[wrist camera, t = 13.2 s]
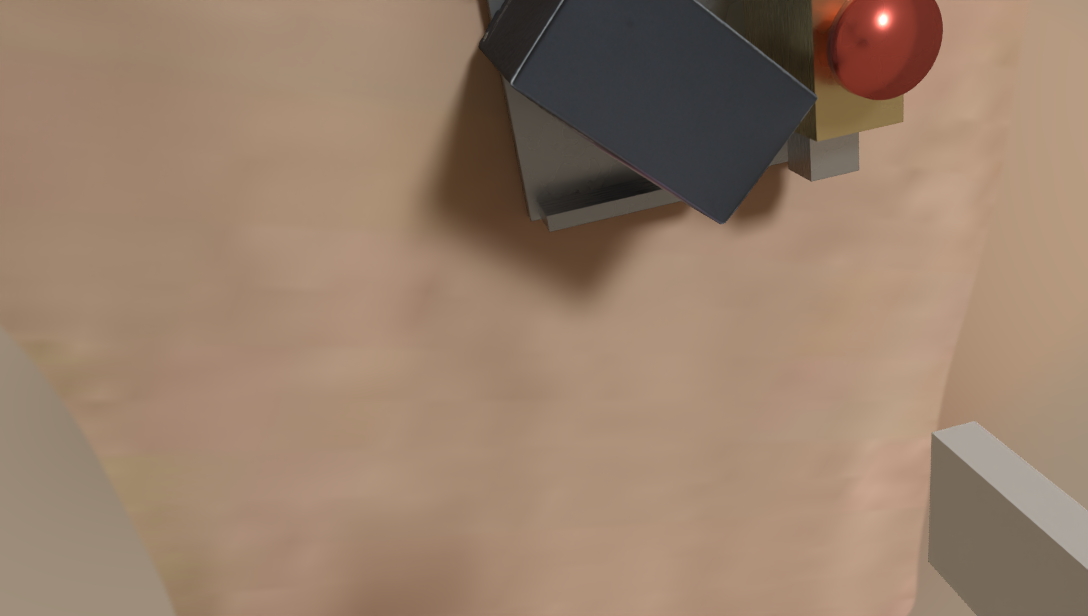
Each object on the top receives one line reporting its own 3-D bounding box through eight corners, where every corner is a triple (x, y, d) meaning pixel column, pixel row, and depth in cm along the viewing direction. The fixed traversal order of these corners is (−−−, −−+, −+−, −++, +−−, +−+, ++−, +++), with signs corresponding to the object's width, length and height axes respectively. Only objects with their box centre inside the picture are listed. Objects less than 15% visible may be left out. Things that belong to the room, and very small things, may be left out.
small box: (469, 53, 38) (499, 88, 29) (546, -76, 37) (605, -83, 27) (646, 170, 42) (723, 235, 33) (722, 58, 41) (827, 92, 31)
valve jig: (528, 215, 43) (570, 289, 34) (470, -78, 37) (501, -86, 28) (821, 147, 44) (938, 200, 35) (810, -145, 39) (948, -174, 29)
